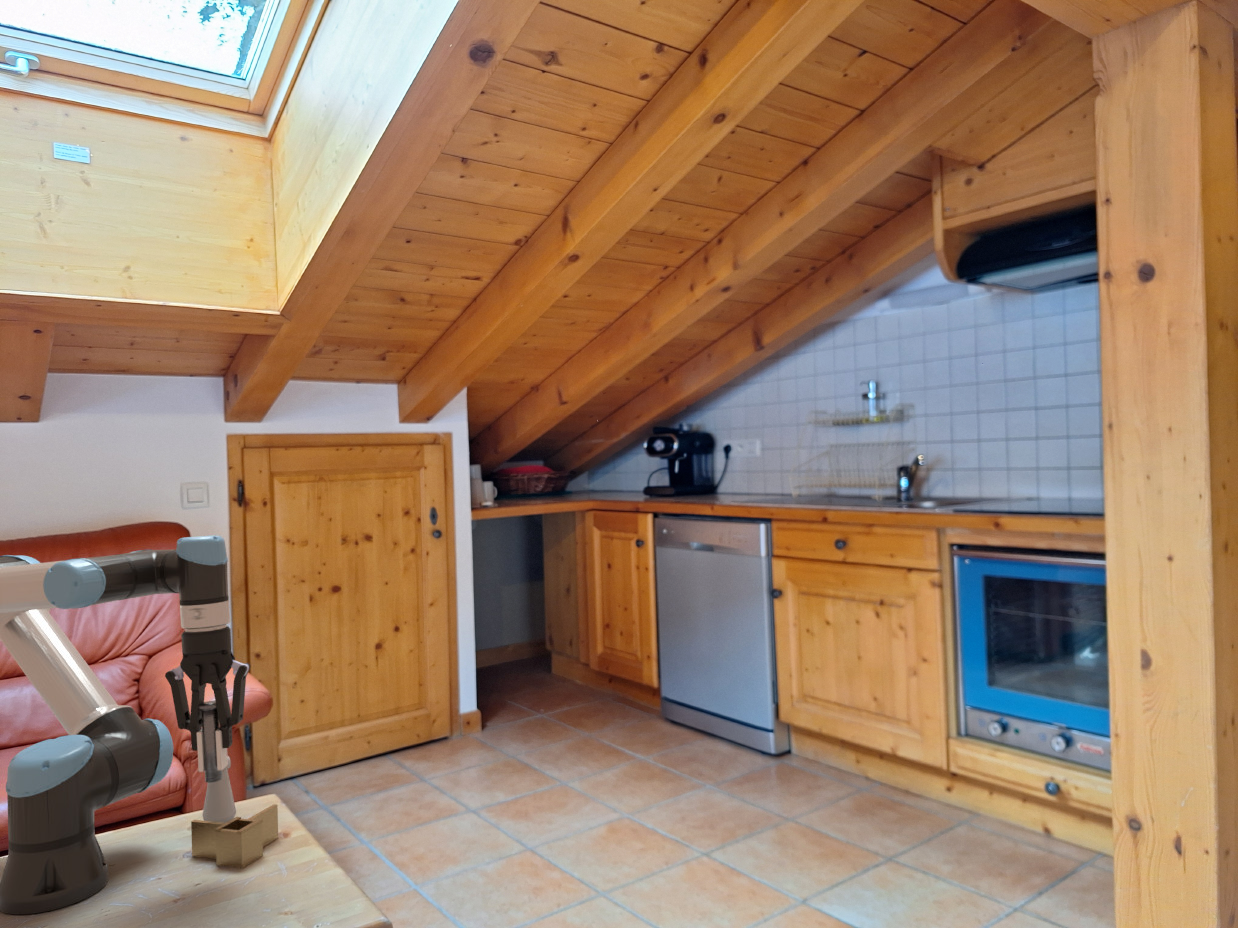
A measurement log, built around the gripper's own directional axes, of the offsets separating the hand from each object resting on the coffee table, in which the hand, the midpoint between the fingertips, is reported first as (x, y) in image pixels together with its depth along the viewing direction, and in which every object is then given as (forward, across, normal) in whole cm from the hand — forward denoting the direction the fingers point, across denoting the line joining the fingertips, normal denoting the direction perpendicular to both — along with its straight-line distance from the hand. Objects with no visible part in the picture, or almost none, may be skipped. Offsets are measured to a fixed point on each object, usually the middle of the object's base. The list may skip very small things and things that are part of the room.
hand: (213, 767), depth 148 cm
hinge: (+17, 0, +8) cm, 19 cm away
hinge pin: (+2, 0, 0) cm, 2 cm away
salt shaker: (+17, -7, +20) cm, 27 cm away
